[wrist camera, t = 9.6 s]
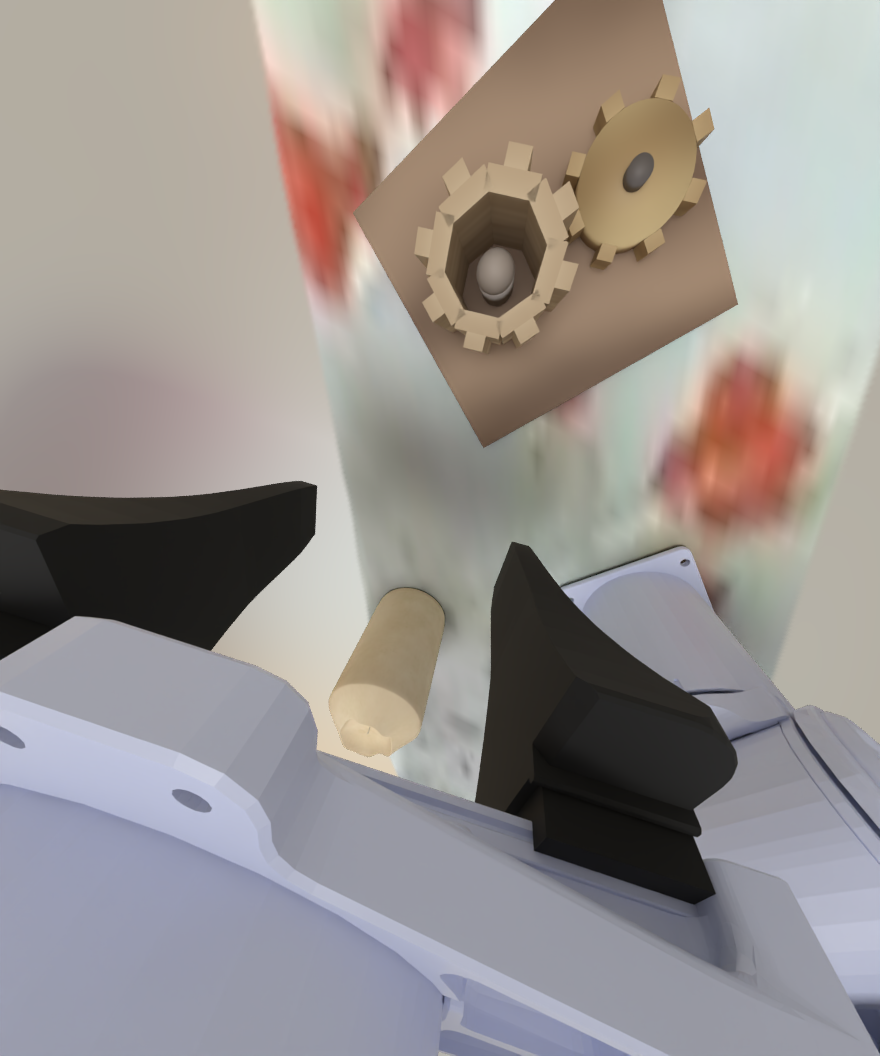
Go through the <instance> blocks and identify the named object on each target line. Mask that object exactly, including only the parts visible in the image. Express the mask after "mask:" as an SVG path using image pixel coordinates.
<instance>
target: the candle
mask: <svg viewBox="0 0 880 1056" xmlns="http://www.w3.org/2000/svg"><path fill="white" fill-rule="evenodd" d="M444 626H445V616H444V612H443V610H442V607H441V606H440V604H439V603H438V602H437V601H436V600H435V599H434V598H433V597H431V596H430V595H428V594H427V593H425V592H423V591H420V590H417V589H413V588H399V589H395V590H392V591H390V592H389V593H387V594H386V595H385V596H384V597H383V598H382V599H381V601H380V602H379V604H378V606H377V608H376V610H375V612H374V613H373V615H372V617H371V619H370V621H369V623H368V625H367V627H366V629H365V631H364V633H363V634H362V636H361V638H360V640H359V642H358V644H357V646H356V648H355V650H354V651H353V653H352V655H351V657H350V659H349V661H348V663H347V665H346V667H345V669H344V670H343V672H342V674H341V676H340V678H339V680H338V682H337V684H336V686H335V687H334V689H333V691H332V694H331V695H330V698H329V709H330V712H331V716H332V718H333V721H334V724H335V726H336V728H337V730H338V733H339V736H340V739H341V742H342V745H343V746H344V747H345V748H346V749H348V750H350V751H353V752H356V753H358V754H360V755H363V756H366V757H371V756H374V755H376V754H383V755H385V756H390V755H391V754H392V753H394V752H395V751H397V750H398V749H400V748H401V747H403V746H404V745H406V744H408V743H409V742H411V741H412V740H414V739H415V738H416V737H417V736H418V734H419V733H420V730H421V726H422V721H423V717H424V713H425V709H426V704H427V700H428V696H429V691H430V687H431V683H432V678H433V674H434V670H435V666H436V661H437V657H438V653H439V648H440V644H441V640H442V635H443V631H444Z"/></svg>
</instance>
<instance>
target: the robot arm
mask: <svg viewBox="0 0 880 1056" xmlns="http://www.w3.org/2000/svg"><path fill="white" fill-rule="evenodd" d="M316 498H317V486H316V485H313V484H309V483H306V482H302V481H293V482H284V483H277V484H271V485H266V486H260V487H253V488H247V489H241V490H234V491H226V492H219V493H212V494H203V495H193V496H179V497H155V498H154V497H151V498H150V497H149V498H106V497H83V496H65V495H51V494H40V493H30V492H19V491H7V490H0V1056H438V1051H439V1052H442V1053H445V1054H448V1055H451V1056H880V744H878V743H877V742H876V741H875V740H874V739H873V738H872V737H870V736H869V735H868V734H867V733H866V732H865V731H864V730H862V729H861V728H860V727H859V726H857V725H856V724H855V723H854V722H852V721H851V720H849V719H848V718H846V717H844V716H840V715H837V714H834V713H831V712H827V711H823V710H821V709H820V708H818V707H816V706H813V705H807V706H804V707H802V708H799V709H796V710H795V709H794V708H793V707H792V705H791V704H790V703H789V702H788V701H787V700H786V698H785V697H784V696H783V695H782V693H781V692H780V691H779V690H778V689H777V687H776V686H775V685H774V684H773V682H772V681H771V680H770V679H769V678H768V676H767V675H766V674H765V673H764V672H763V670H762V669H761V668H760V667H759V666H758V664H757V663H756V662H755V661H754V660H753V658H752V657H751V656H750V655H749V654H748V652H747V651H746V650H745V649H744V648H743V646H742V645H741V644H740V643H739V641H738V640H737V639H736V638H735V637H734V635H733V634H732V633H731V632H730V631H729V629H728V628H727V627H726V626H725V625H724V623H723V622H722V621H721V620H720V619H719V617H718V616H717V615H716V614H715V613H714V611H713V608H712V605H711V603H710V600H709V597H708V595H707V592H706V589H705V587H704V584H703V581H702V579H701V576H700V573H699V571H698V568H697V566H696V563H695V560H694V558H693V555H692V553H691V551H690V550H689V549H688V548H686V547H683V546H680V547H676V548H673V549H670V550H667V551H664V552H662V553H659V554H656V555H653V556H650V557H647V558H644V559H641V560H638V561H636V562H633V563H630V564H627V565H624V566H621V567H618V568H615V569H613V570H610V571H607V572H604V573H601V574H598V575H595V576H592V577H589V578H587V579H584V580H581V581H578V582H575V583H572V584H569V585H566V586H564V587H561V588H560V587H559V585H558V584H557V583H556V582H555V580H554V579H553V578H552V576H551V575H550V574H549V572H548V571H547V570H546V568H545V567H544V566H543V564H542V563H541V561H540V560H539V559H538V557H537V556H536V555H535V553H534V552H533V550H532V549H531V548H530V547H529V546H526V545H523V544H519V543H516V542H512V543H511V545H510V548H509V550H508V553H507V555H506V558H505V561H504V563H503V566H502V568H501V571H500V573H499V576H498V579H497V581H496V584H495V586H494V592H493V599H492V607H491V679H490V689H489V699H488V708H487V717H486V725H485V733H484V742H483V749H482V756H481V764H480V771H479V779H478V785H477V792H476V799H475V802H472V801H469V800H466V799H463V798H460V797H457V796H454V795H451V794H448V793H445V792H442V791H439V790H436V789H433V788H430V787H427V786H424V785H421V784H418V783H415V782H412V781H409V780H406V779H403V778H400V777H397V776H393V775H390V774H388V773H384V772H382V771H378V770H376V769H373V768H370V767H366V766H364V765H361V764H358V763H355V762H351V761H349V760H346V759H343V758H339V757H336V756H334V755H330V754H327V753H324V752H321V751H318V750H316V747H317V732H318V730H317V727H316V724H315V721H314V718H313V715H312V712H311V709H310V706H309V704H308V702H307V700H306V699H304V697H303V696H302V695H300V694H299V693H298V692H297V691H296V690H295V689H294V688H293V687H292V686H291V685H290V684H289V683H288V682H287V681H286V680H284V679H282V678H280V677H278V676H276V675H274V674H272V673H270V672H268V671H266V670H264V669H262V668H260V667H258V666H256V665H253V664H250V663H246V662H243V661H240V660H237V659H234V658H231V657H227V656H225V655H221V654H218V653H215V652H212V651H211V650H212V649H213V647H214V646H215V645H216V643H217V642H218V641H219V640H220V638H221V637H222V636H223V635H224V633H225V632H226V631H227V629H228V628H229V627H230V626H231V624H232V623H233V622H234V621H235V620H236V619H237V617H238V616H239V615H240V614H241V612H242V611H243V610H244V609H245V608H246V607H247V605H248V604H249V603H250V602H251V601H252V600H253V599H254V598H255V597H256V596H257V595H258V594H259V593H260V592H261V591H262V590H263V589H264V588H265V587H266V586H267V585H268V584H269V583H270V582H271V581H272V580H274V578H275V577H277V576H278V575H279V574H280V573H281V572H282V571H283V570H284V569H285V568H286V567H287V566H288V565H289V564H290V563H291V562H292V561H293V560H294V559H295V558H296V557H297V556H298V555H299V554H300V553H301V552H302V551H303V549H304V548H305V547H306V546H307V544H308V543H309V541H310V540H311V538H312V537H313V536H314V535H315V523H316ZM684 559H687V560H686V562H684V563H680V562H681V561H682V560H684ZM570 598H572V599H571V600H570Z"/></svg>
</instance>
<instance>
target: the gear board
mask: <svg viewBox="0 0 880 1056" xmlns="http://www.w3.org/2000/svg"><path fill="white" fill-rule="evenodd" d="M713 130H714V126H713V122H712V117H711V113H710V109H709V108H708V109H707V110H706V111H704V112H703V113H702V114H701V115H699V116H698V117H697V118H695V119H694V120H693V121H692V117H691V113H690V109H689V105H688V101H687V97H686V93H685V89H684V85H683V81H682V77H681V73H680V69H679V65H678V61H677V57H676V53H675V49H674V45H673V41H672V37H671V33H670V29H669V25H668V21H667V17H666V13H665V9H664V5H663V1H662V0H555V1H554V2H553V3H552V4H551V5H550V6H549V7H548V8H547V9H546V10H545V11H544V12H543V13H542V14H541V15H540V17H539V18H538V19H537V20H536V21H535V22H534V23H533V24H532V25H531V26H530V27H529V28H528V29H527V30H526V31H525V32H524V33H523V34H522V35H521V37H520V38H519V39H518V40H517V41H516V42H515V43H514V44H513V45H512V46H511V47H510V48H509V49H508V50H507V51H506V52H505V53H504V54H503V55H502V57H501V58H500V59H499V60H498V61H497V62H496V63H495V64H494V65H493V66H492V67H491V68H490V69H489V70H488V71H487V72H486V73H485V74H484V75H483V76H482V78H481V79H480V80H479V81H478V82H477V83H476V84H475V85H474V86H473V87H472V88H471V89H470V90H469V91H468V92H467V93H466V94H465V95H464V96H463V98H462V99H461V100H460V101H459V102H458V103H457V104H456V105H455V106H454V107H453V108H452V109H451V110H450V111H449V112H448V113H447V114H446V115H445V116H444V118H443V119H442V120H441V121H440V122H439V123H438V124H437V125H436V126H435V127H434V128H433V129H432V130H431V131H430V132H429V133H428V134H427V135H426V136H425V138H424V139H423V140H422V141H421V142H420V143H419V144H418V145H417V146H416V147H415V148H414V149H413V150H412V151H411V152H410V153H409V154H408V155H407V156H406V158H405V159H404V160H403V161H402V162H401V163H400V164H399V165H398V166H397V167H396V168H395V169H394V170H393V171H392V172H391V173H390V174H389V175H388V176H387V178H386V179H385V180H384V181H383V182H382V183H381V184H380V185H379V186H378V187H377V188H376V189H375V190H374V191H373V192H372V193H371V194H370V195H369V196H368V197H367V199H366V200H365V201H364V202H363V203H362V204H361V205H360V206H359V207H358V208H357V209H356V210H355V211H354V212H353V214H354V216H355V218H356V219H357V221H358V223H359V225H360V227H361V228H362V230H363V232H364V234H365V236H366V237H367V239H368V241H369V243H370V245H371V246H372V248H373V250H374V252H375V254H376V255H377V257H378V259H379V261H380V263H381V264H382V266H383V268H384V270H385V272H386V273H387V275H388V277H389V279H390V281H391V282H392V284H393V286H394V288H395V290H396V291H397V293H398V295H399V297H400V299H401V300H402V302H403V304H404V306H405V308H406V309H407V311H408V313H409V315H410V317H411V318H412V320H413V322H414V324H415V326H416V327H417V329H418V331H419V333H420V334H421V336H422V338H423V340H424V342H425V343H426V345H427V347H428V349H429V351H430V352H431V354H432V356H433V358H434V360H435V361H436V363H437V365H438V367H439V369H440V370H441V372H442V374H443V376H444V378H445V379H446V381H447V383H448V385H449V387H450V388H451V390H452V392H453V394H454V396H455V397H456V399H457V401H458V403H459V405H460V406H461V408H462V410H463V412H464V414H465V415H466V417H467V419H468V421H469V423H470V424H471V426H472V428H473V430H474V432H475V433H476V435H477V437H478V439H479V441H480V442H481V444H482V446H483V448H484V447H486V446H488V445H490V444H491V443H493V442H495V441H497V440H499V439H500V438H502V437H504V436H506V435H507V434H509V433H511V432H513V431H514V430H516V429H518V428H520V427H522V426H523V425H525V424H527V423H529V422H530V421H532V420H534V419H536V418H538V417H539V416H541V415H543V414H545V413H546V412H548V411H550V410H552V409H553V408H555V407H557V406H559V405H561V404H562V403H564V402H566V401H568V400H569V399H571V398H573V397H575V396H576V395H578V394H580V393H582V392H584V391H585V390H587V389H589V388H591V387H592V386H594V385H596V384H598V383H600V382H601V381H603V380H605V379H607V378H608V377H610V376H612V375H614V374H615V373H617V372H619V371H621V370H623V369H624V368H626V367H628V366H630V365H631V364H633V363H635V362H637V361H638V360H640V359H642V358H644V357H646V356H647V355H649V354H651V353H653V352H654V351H656V350H658V349H660V348H662V347H663V346H665V345H667V344H669V343H670V342H672V341H674V340H676V339H677V338H679V337H681V336H683V335H685V334H686V333H688V332H690V331H692V330H693V329H695V328H697V327H699V326H700V325H702V324H704V323H706V322H708V321H709V320H711V319H713V318H715V317H716V316H718V315H720V314H722V313H724V312H725V311H727V310H729V309H731V308H732V307H734V306H736V305H738V303H737V299H736V294H735V290H734V286H733V282H732V278H731V274H730V270H729V266H728V262H727V258H726V254H725V250H724V246H723V242H722V238H721V234H720V230H719V226H718V222H717V218H716V214H715V210H714V206H713V202H712V198H711V194H710V190H709V186H708V182H707V178H706V174H705V170H704V166H703V162H702V158H701V154H700V150H699V145H700V144H701V143H702V142H703V141H704V140H705V139H706V138H707V137H708V135H709V134H710V133H711V132H712V131H713ZM509 141H511V142H516V143H521V144H525V145H530V146H533V154H532V162H531V170H530V172H535V173H540V174H543V175H542V180H544V179H545V178H546V179H547V181H548V184H549V186H550V189H551V192H552V194H554V193H555V192H556V191H558V190H559V189H560V188H561V187H563V186H564V185H565V184H566V183H567V182H569V181H570V184H571V186H572V189H573V192H574V195H575V197H576V200H577V203H578V206H579V209H578V211H577V213H576V215H575V217H574V219H573V222H572V224H571V226H570V228H569V230H568V232H567V233H568V236H569V237H568V239H567V242H569V243H568V246H567V249H566V252H565V255H564V258H563V261H568V262H572V263H576V264H579V265H578V268H577V271H576V273H575V276H574V279H573V282H572V285H571V288H570V291H569V292H568V293H567V294H566V296H565V297H564V298H563V299H562V300H561V301H560V302H559V303H558V304H557V306H556V307H555V308H554V309H553V310H552V311H551V312H549V311H545V310H544V311H543V313H542V314H541V315H540V317H539V318H538V319H537V321H536V324H537V326H538V329H539V331H540V332H539V333H537V334H536V335H535V336H534V337H533V338H532V339H531V340H529V341H528V342H526V343H525V344H523V345H522V346H520V347H519V348H517V349H516V347H515V345H514V342H513V340H512V339H511V340H509V341H508V342H507V343H505V344H504V345H503V343H502V342H501V345H497V344H493V343H491V347H490V351H489V354H485V353H481V352H477V351H473V350H470V349H467V348H464V347H463V345H464V341H465V337H466V335H464V334H463V333H461V332H460V331H458V330H456V331H455V332H454V333H452V332H450V331H448V330H446V329H445V328H443V327H441V326H439V325H437V324H435V323H433V322H432V320H431V318H430V316H429V314H428V312H427V311H426V309H425V307H424V305H423V303H422V302H423V301H424V300H426V299H427V298H428V297H429V296H430V295H432V294H433V293H434V292H433V290H432V288H431V286H430V284H429V282H428V280H427V278H429V277H428V276H427V275H426V272H427V268H426V267H425V266H424V265H423V264H422V263H421V261H420V260H419V259H418V258H417V257H416V256H415V254H414V252H415V245H416V238H417V231H418V227H422V228H427V229H431V230H433V228H434V222H435V216H436V211H437V212H441V211H440V209H439V206H440V205H441V204H442V203H443V202H444V201H445V200H446V199H447V198H448V197H449V195H448V192H447V189H446V186H445V183H444V181H443V178H442V176H443V175H444V174H446V173H447V172H448V171H449V170H450V169H451V168H452V167H453V166H454V165H455V164H456V163H457V162H458V161H459V160H460V159H461V158H463V160H464V162H465V165H466V167H467V169H468V171H469V174H470V176H472V175H473V174H474V173H475V172H476V171H477V170H478V169H479V168H480V167H481V166H482V165H483V164H485V167H486V169H487V168H488V163H489V162H490V163H494V164H499V165H503V166H504V162H505V158H506V153H507V149H508V144H509ZM542 180H541V181H542ZM534 281H535V280H534V277H533V275H532V273H531V270H530V268H529V266H528V263H527V261H526V259H525V256H524V254H523V252H522V251H521V250H517V249H513V248H508V247H504V246H500V245H496V244H494V245H492V246H491V247H490V248H489V249H488V250H486V251H485V252H484V253H483V254H482V255H480V256H479V257H478V258H477V259H475V260H474V261H473V262H472V263H471V264H469V268H468V273H467V278H466V282H465V287H464V292H463V297H462V298H463V300H464V302H465V304H466V306H467V308H468V310H469V311H472V312H476V313H480V314H484V315H488V316H492V317H496V318H499V317H501V316H502V315H504V314H505V313H506V312H508V311H509V310H511V309H512V308H513V307H515V306H516V305H517V304H519V303H520V302H522V301H523V300H524V299H526V298H527V297H528V296H530V295H531V291H532V288H533V284H534Z"/></svg>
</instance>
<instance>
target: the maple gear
mask: <svg viewBox="0 0 880 1056" xmlns="http://www.w3.org/2000/svg"><path fill="white" fill-rule="evenodd" d="M532 154H533V146H530V145H525V144H521V143H516V142H511V141H509V144H508V149H507V153H506V158H505V162H504V166H503V165H499V164H494V163H490V162H489V163H488V168H487V169H486V167H485V164H483V165H482V166H481V167H480V168H479V169H478V170H477V171H476V172H475V173H474V174H473V175H472V176H470V174H469V171H468V169H467V167H466V165H465V162H464V160H463V158H461V159H460V160H459V161H458V162H457V163H456V164H455V165H454V166H453V167H452V168H451V169H450V170H449V171H448V172H447V173H446V174H444V175H443V176H442V178H443V181H444V183H445V186H446V189H447V192H448V195H449V197H448V198H447V199H446V200H445V201H444V202H443V203H442V204H441V205H440V206H439V209H440V211H441V212H437V211H436V216H435V222H434V228H433V230H431V229H427V228H422V227H418V231H417V238H416V245H415V252H414V254H415V256H416V257H417V258H418V259H419V260H420V261H421V263H422V264H423V265H424V266H425V267H426V268H427V272H426V275H427V276H428V277H429V278H427V280H428V282H429V284H430V286H431V288H432V290H433V292H434V293H433V294H432V295H430V296H429V297H428V298H427V299H426V300H424V301H423V302H422V303H423V305H424V307H425V309H426V311H427V312H428V314H429V316H430V318H431V320H432V322H433V323H435V324H437V325H439V326H441V327H443V328H445V329H446V330H448V331H450V332H452V333H454V332H455V331H456V330H458V331H460V332H461V333H463V334H464V335H466V337H465V341H464V345H463V347H464V348H467V349H470V350H473V351H477V352H481V353H485V354H489V351H490V347H491V343H493V344H497V345H501V342H502V343H503V345H504V344H505V343H507V342H508V341H509V340H511V339H512V340H513V342H514V345H515V347H516V349H517V348H519V347H520V346H522V345H523V344H525V343H526V342H528V341H529V340H531V339H532V338H533V337H534V336H535V335H536V334H537V333H539V332H540V331H539V329H538V326H537V324H536V321H537V319H538V318H539V317H540V315H541V314H542V313H543V311H544V310H545V311H549V312H551V311H552V310H553V309H554V308H555V307H556V306H557V304H558V303H559V302H560V301H561V300H562V299H563V298H564V297H565V296H566V294H567V293H568V292H569V291H570V288H571V285H572V282H573V279H574V276H575V273H576V271H577V268H578V265H579V264H576V263H572V262H568V261H563V258H564V255H565V252H566V249H567V246H568V243H569V242H567V239H568V237H569V236H568V233H567V232H568V230H569V228H570V226H571V224H572V222H573V219H574V217H575V215H576V213H577V211H578V209H579V206H578V203H577V200H576V197H575V195H574V192H573V189H572V186H571V184H570V181H569V182H567V183H566V184H565V185H564V186H563V187H561V188H560V189H559V190H558V191H556V192H555V193H554V194H552V192H551V189H550V186H549V184H548V181H547V179H546V178H545V179H544V180H542V175H543V174H540V173H535V172H530V170H531V162H532ZM541 180H542V181H541ZM494 244H496V245H500V246H504V247H508V248H513V249H517V250H521V251H522V252H523V254H524V256H525V259H526V261H527V263H528V266H529V268H530V270H531V273H532V275H533V277H534V280H535V281H534V284H533V288H532V291H531V295H530V296H528V297H527V298H526V299H524V300H523V301H522V302H520V303H519V304H517V305H516V306H515V307H513V308H512V309H511V310H509V311H508V312H506V313H505V314H504V315H502V316H501V317H499V318H496V317H492V316H488V315H484V314H480V313H476V312H472V311H469V310H468V308H467V306H466V304H465V302H464V300H463V298H462V297H463V292H464V287H465V282H466V278H467V273H468V268H469V264H471V263H472V262H473V261H474V260H475V259H477V258H478V257H479V256H480V255H482V254H483V253H484V252H485V251H486V250H488V249H489V248H490V247H491V246H492V245H494Z"/></svg>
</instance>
